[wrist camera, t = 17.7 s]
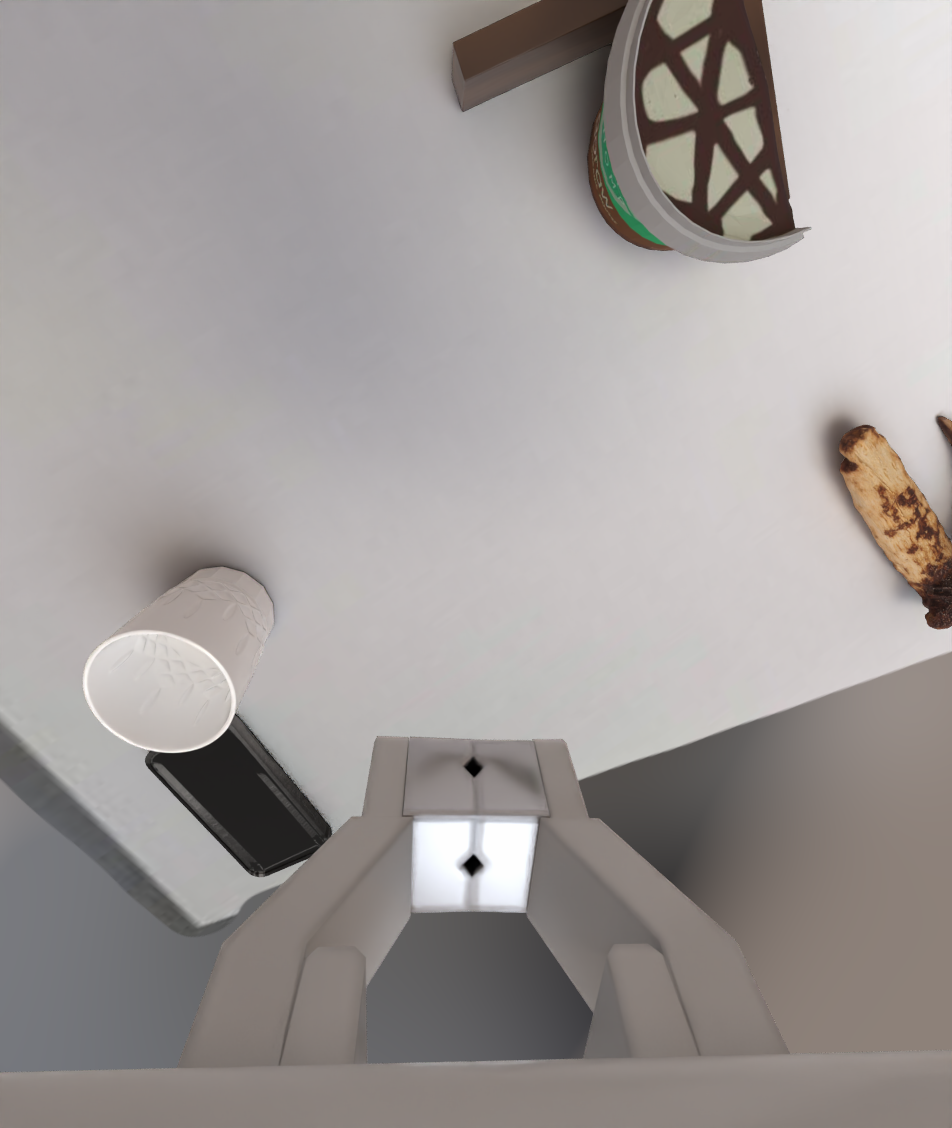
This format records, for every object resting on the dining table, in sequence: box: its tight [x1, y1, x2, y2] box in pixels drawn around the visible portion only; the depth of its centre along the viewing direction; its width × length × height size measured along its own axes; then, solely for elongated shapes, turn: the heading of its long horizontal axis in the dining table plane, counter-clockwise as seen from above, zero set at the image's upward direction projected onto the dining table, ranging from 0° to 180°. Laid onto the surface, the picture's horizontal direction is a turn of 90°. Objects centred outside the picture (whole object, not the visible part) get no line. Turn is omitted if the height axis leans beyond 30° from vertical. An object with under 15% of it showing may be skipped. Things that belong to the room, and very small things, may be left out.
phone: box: [145, 715, 332, 877], centre depth 45 cm, size 8×1×15 cm
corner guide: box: [452, 0, 790, 200], centre depth 29 cm, size 12×14×4 cm
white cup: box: [82, 567, 274, 753], centre depth 35 cm, size 8×8×10 cm
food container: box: [587, 0, 811, 263], centre depth 26 cm, size 12×6×10 cm, turn 26°
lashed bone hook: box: [839, 417, 952, 629], centre depth 37 cm, size 9×5×18 cm
